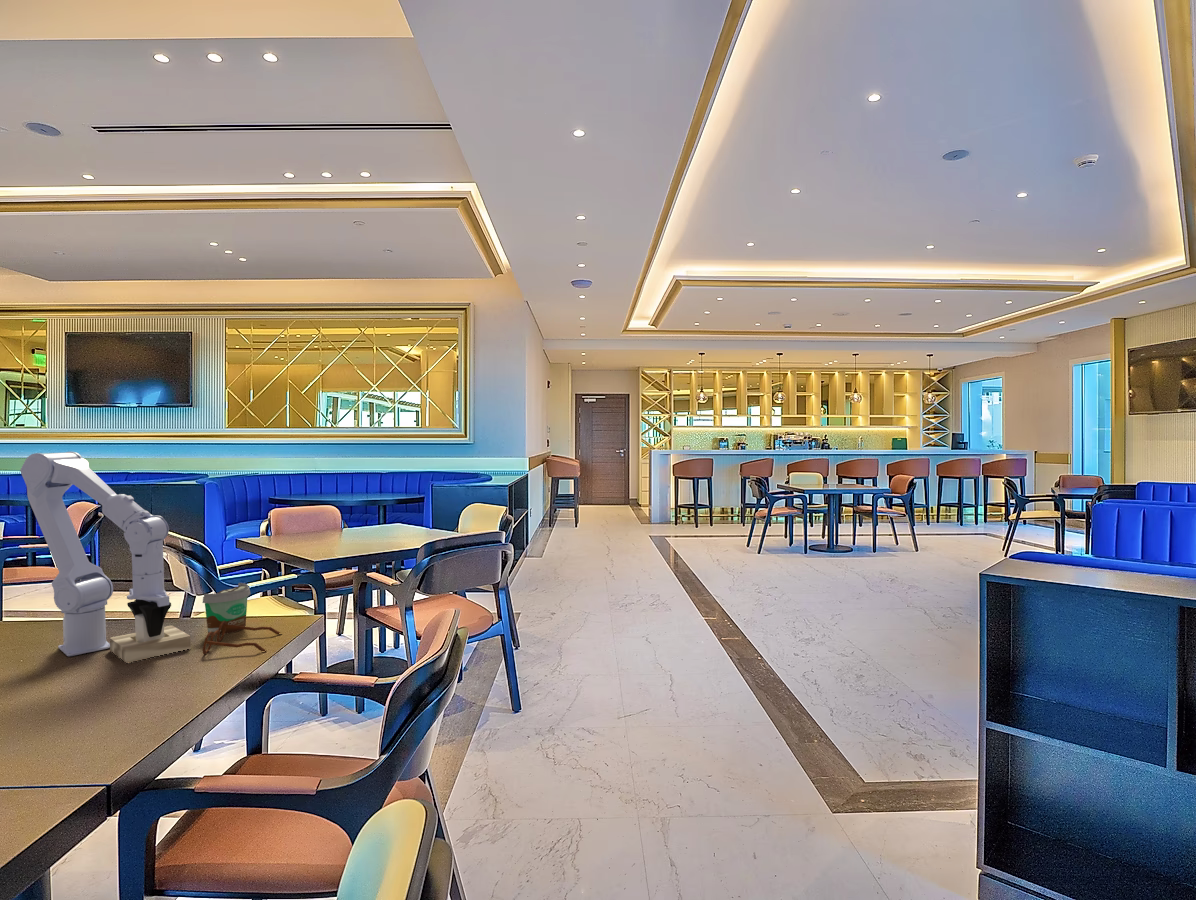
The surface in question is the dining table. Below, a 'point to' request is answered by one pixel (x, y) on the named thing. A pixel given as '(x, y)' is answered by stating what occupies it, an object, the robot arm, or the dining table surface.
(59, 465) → the robot arm
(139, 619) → the connector plug
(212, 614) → the food container
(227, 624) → the glasses
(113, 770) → the dining table surface
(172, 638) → the holder
